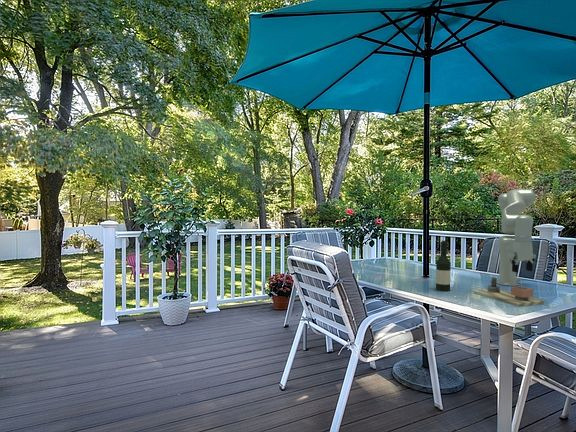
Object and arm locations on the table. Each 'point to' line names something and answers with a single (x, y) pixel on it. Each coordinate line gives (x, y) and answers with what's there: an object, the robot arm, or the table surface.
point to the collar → (522, 292)
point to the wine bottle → (443, 270)
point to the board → (506, 295)
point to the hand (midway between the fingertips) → (522, 271)
